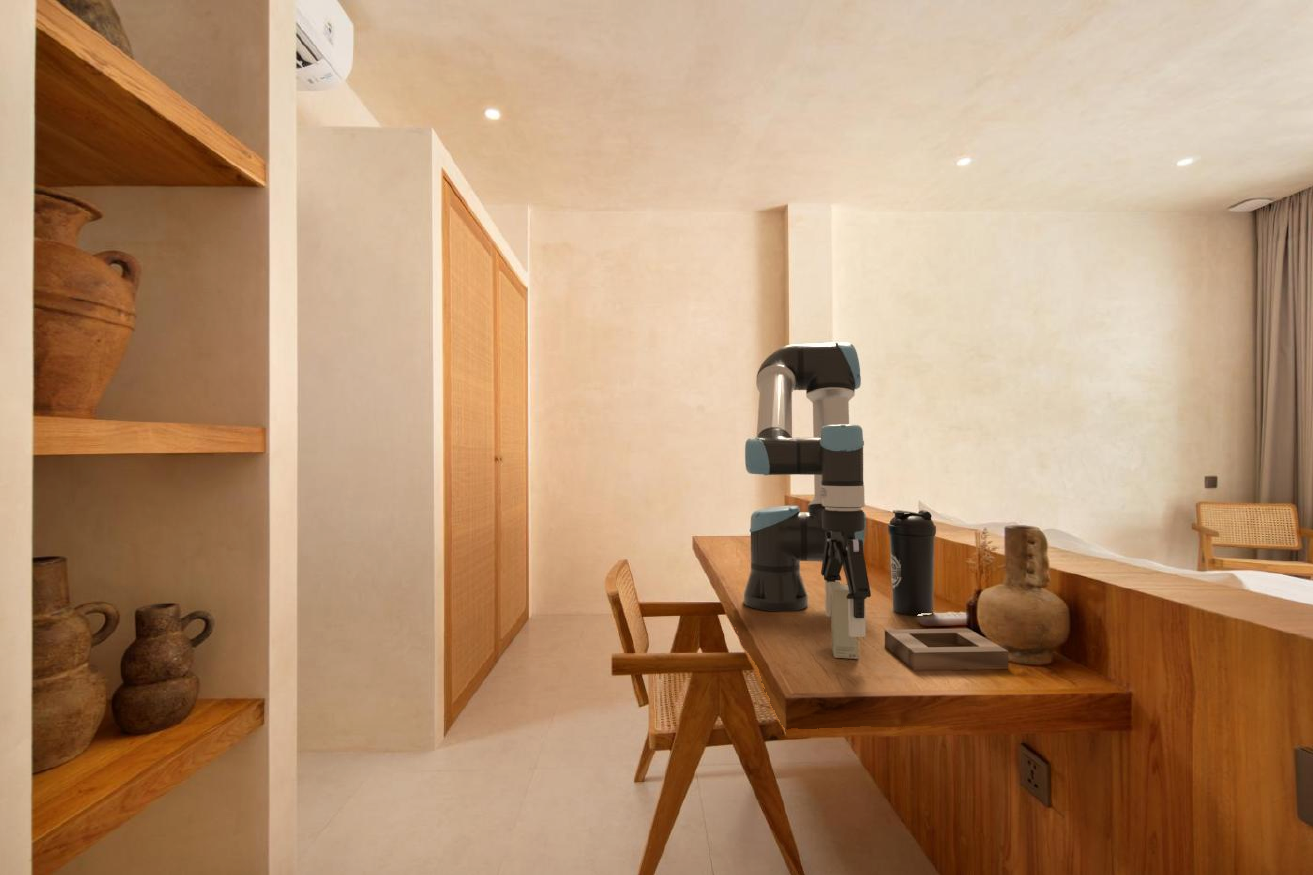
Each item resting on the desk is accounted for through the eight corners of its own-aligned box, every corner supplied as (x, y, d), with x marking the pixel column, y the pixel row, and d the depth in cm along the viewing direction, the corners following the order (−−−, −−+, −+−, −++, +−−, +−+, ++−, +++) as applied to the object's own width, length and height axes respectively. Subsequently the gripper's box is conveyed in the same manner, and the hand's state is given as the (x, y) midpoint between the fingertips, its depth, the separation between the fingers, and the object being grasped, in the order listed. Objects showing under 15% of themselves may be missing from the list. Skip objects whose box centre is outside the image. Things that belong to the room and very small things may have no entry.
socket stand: (884, 645, 117) (884, 629, 117) (968, 644, 117) (968, 628, 117) (914, 670, 104) (914, 652, 104) (1008, 668, 104) (1008, 651, 104)
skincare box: (859, 660, 109) (858, 591, 109) (833, 658, 110) (832, 590, 110) (854, 648, 116) (854, 583, 116) (830, 647, 116) (830, 582, 117)
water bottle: (884, 605, 147) (883, 508, 147) (929, 606, 145) (928, 508, 146) (894, 616, 137) (893, 512, 137) (943, 618, 135) (941, 513, 136)
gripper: (804, 503, 126) (806, 608, 125) (844, 515, 101) (846, 646, 100) (841, 503, 126) (842, 608, 125) (890, 514, 101) (892, 646, 100)
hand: (844, 625), depth 113 cm, fingers open, 13 cm apart
